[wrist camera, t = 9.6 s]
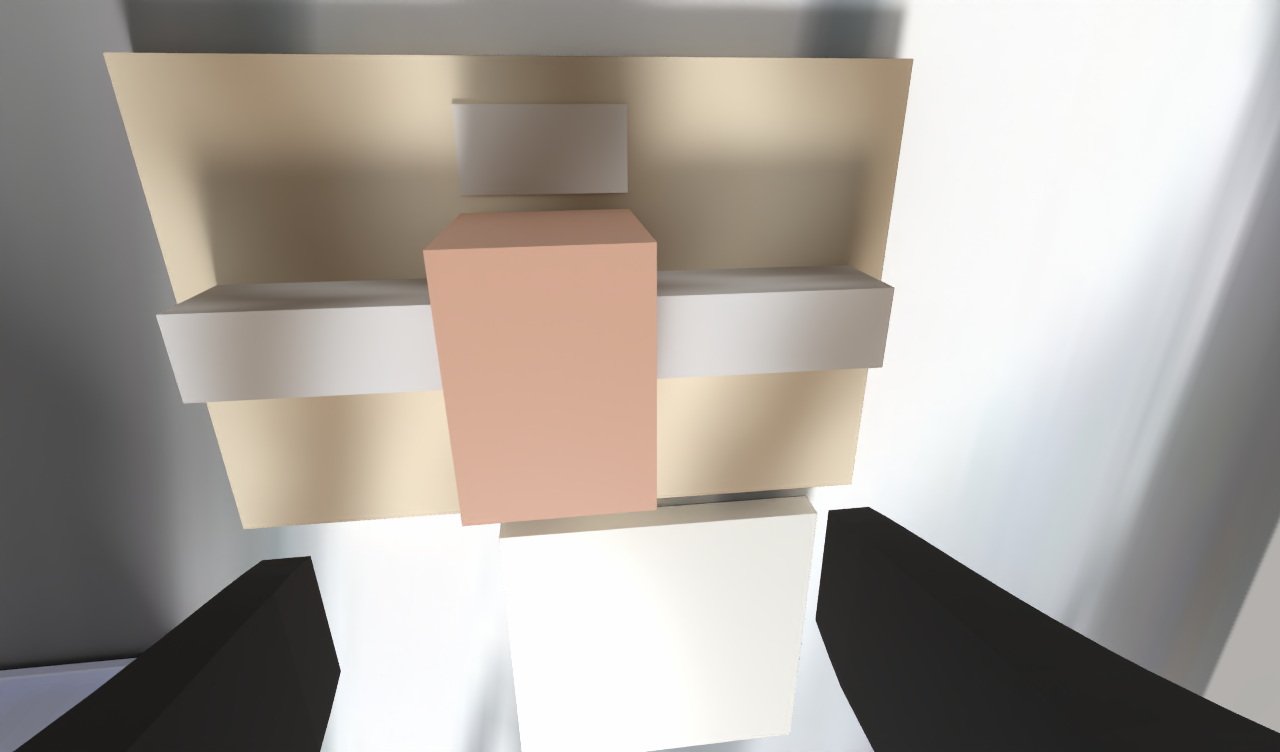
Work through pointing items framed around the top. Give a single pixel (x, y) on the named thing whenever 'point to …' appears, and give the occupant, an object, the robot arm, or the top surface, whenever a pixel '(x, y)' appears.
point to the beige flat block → (511, 182)
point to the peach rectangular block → (548, 362)
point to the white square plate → (657, 624)
